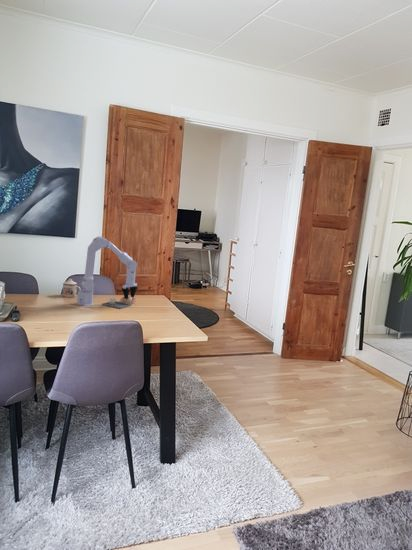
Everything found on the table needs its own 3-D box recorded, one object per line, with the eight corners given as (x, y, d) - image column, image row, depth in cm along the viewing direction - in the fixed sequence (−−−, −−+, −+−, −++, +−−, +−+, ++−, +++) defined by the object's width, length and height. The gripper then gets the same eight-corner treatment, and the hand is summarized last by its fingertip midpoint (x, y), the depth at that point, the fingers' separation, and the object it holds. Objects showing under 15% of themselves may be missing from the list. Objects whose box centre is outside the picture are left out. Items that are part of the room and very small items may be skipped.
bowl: (130, 305, 277) (130, 300, 276) (117, 303, 280) (117, 298, 280) (138, 303, 286) (138, 298, 286) (125, 300, 290) (126, 296, 289)
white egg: (129, 303, 279) (130, 297, 278) (125, 302, 280) (125, 297, 280) (132, 303, 282) (133, 297, 282) (128, 302, 284) (128, 296, 283)
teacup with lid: (60, 296, 283) (61, 279, 281) (65, 294, 292) (66, 277, 290) (77, 298, 282) (78, 281, 281) (82, 296, 291) (83, 279, 290)
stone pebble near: (112, 305, 270) (113, 299, 270) (108, 304, 272) (108, 298, 271) (116, 304, 274) (116, 298, 273) (111, 303, 275) (111, 297, 274)
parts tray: (120, 309, 263) (120, 307, 263) (102, 305, 268) (102, 303, 268) (131, 306, 274) (131, 304, 274) (113, 302, 279) (113, 300, 279)
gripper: (129, 279, 271) (128, 300, 273) (141, 277, 284) (140, 297, 286) (120, 278, 274) (119, 298, 276) (132, 276, 287) (131, 295, 289)
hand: (129, 297), depth 281 cm, fingers open, 7 cm apart
